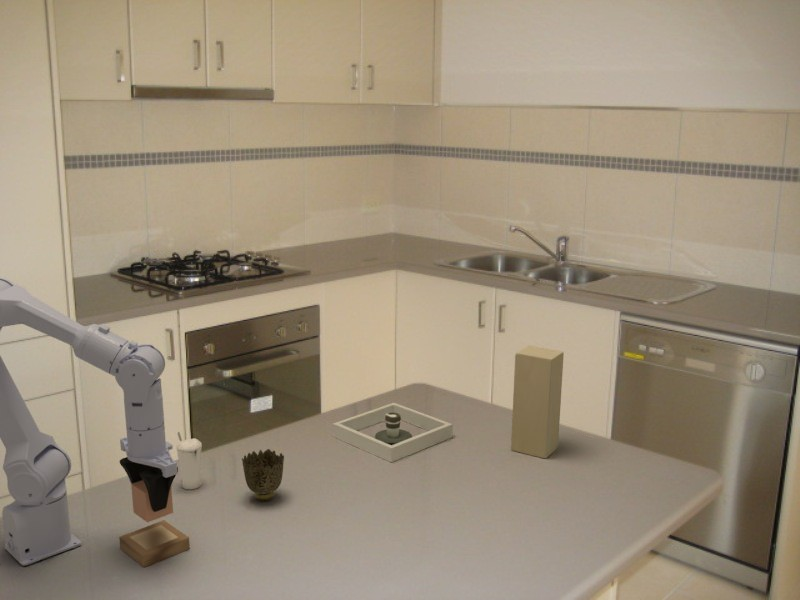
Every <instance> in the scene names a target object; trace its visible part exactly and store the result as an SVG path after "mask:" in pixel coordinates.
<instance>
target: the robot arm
mask: <svg viewBox="0 0 800 600" xmlns="http://www.w3.org/2000/svg"><path fill="white" fill-rule="evenodd" d="M17 325H25V326H27V327H29V328H31V329H33V330H35V331H37V332H40V333H43V334H44V335H46V336H49V337H51V338H54V339H56V340H58V341H61V342H63V343H65V344H67V345H70V346H71V347H72V350H73V353H74V355H75V357H76V358H77V359H80V360H82V361H83V362H86V363H88V364H90V365H92V366H93V367H96V368H98V369H99V370H101V371H103V372H105V373H107V374H108V375H111V376H113V377H114V378H115V381H116V383H117V385H118V386H119V387H120V388H121V389H122V390H123V391H122V392H123V404H124V414H125V415H124V416H125V417H124V418H125V429H126V436H125V437H121V438H120V439H119V443H120V451H122V452H125V454H126V457H122V458H121V459H119V464H120V465H121V467H122V469H123V470H124V471H125V473H126V475H127V477H128V479H129V482H130V485H131V484H132V483H135V482H138V481H141V480H143V481H144V483H145V485H146V488H147V491H148V495H149V500H150V505H151V508H152V510H153V511H154V512H157V511H159V510H162V509H165V508H166V506H167V502H168V496H169V492H170V488H171V489H172V484H173V483H174V479H175V477H176V475H177V474H178V473H179V467H178V462H176V461H175V460H174V459H173V457H172V455H171V452H170V451H171V450H173V447H174V446H173V444H172V443H170V442H168V441H166V429H165V428H166V427H165V416H164V415H165V413H164V401H163V400H164V399H163V398H164V397H163V389H162V379H161V378H160V377H161V376H162V374H163V372H164V371H165V368H166V360H165V359H166V358H165V356H164V355H163V353H162V352H161V351H160V350H159V349H158V348H156V347H155V346H154V345H153V344H151V343H142V344H138V342H137V341H135V340H131V341H130V340H128V339H127V338H124V337H122V336H120V335H118V334H116V333H115V332H112V331H110V329H111V327H110V326H109V325H107V324H105V323H103V324H101V325H98V324H96V323H92V324H90V325H85V326H84V325H82V324H80V323H79V322H78V321H76V320H74V319H72V318H71V317H68V316H67V315H66V314H64V313H62V312H60V310H57V309H56V308H54V307H52V306H50V305H48V304H47V303H46V302H43V301H41V299H38V298H37V297H35V296H33V295H32V294H31V293H30V292H29V291H28V290H27V289H26V288H25V287H24V286H21V285H19V284H15V283H14V282H12V281H11V280H10V279H7V278H5V277H4V278H3V277H0V332H1V330H2V328H3V327H8V326H9V327H11V326H17ZM30 411H31V410H29V407H28V406H27V404H26V402H25V400H24V398H23V397H22V394H21V393H20V391H19V389H18V387H17V384H16V383H15V381H14V379H13V377H12V375H11V373H10V372H9V370H8V367H7V366H6V364H5V362H4V360H3V358H2V356H1V355H0V440H1V443H2V444H3V446H4V447H5V455H4V460H3V465H2V470H3V471H4V473H5V475H6V480H7V483H6V484H7V490H8V492H9V494H10V496H11V498H13V499H14V501H13V502H11V503H9V504H7V505H5V506H3V508H2V513H1V515H2V525H3V533H4V539H5V540H4V541H5V545H4V549H5V550H6V551H7V552H8V553H9V554H10V555H11V556H12V557H13V558H14V559H15V560H16V561H17V562H18V563H19V564H20V565H21V566H23V567H25V566H28V565H31V564H34V563H36V562H39V561H41V560H44V559H47V558H49V557H51V556H52V557H53V556H55V555H58V554H60V553H63V552H66V551H68V550H71V549H73V548H76V547H79V546H81V545H82V541H81V540H80V539H79V538H77V537H76V536H75V535H74V534H73V533H72V532H71V523H70V512H69V502H68V501H69V500H68V492H67V486H66V478H67V476H69V474H70V472H71V469H72V460H71V458H70V456H69V454H68V453H67V451H65V449H63V448H62V447H60V446H59V445H58V443H57V442H56V441H55V439H54V437H53V436H51V435H49V434H47V433H44V432H42V431H41V430H40V429H39V426H38V425H37V423H36V421H35V419H34V418H33V415H32V413H31V412H30Z"/></svg>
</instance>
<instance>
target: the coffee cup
mask: <svg viewBox="0 0 800 600" xmlns="http://www.w3.org/2000/svg"><path fill="white" fill-rule="evenodd" d="M401 421H402V420H401V416H400V414H398V413H386V415H385V427H386V429H383V430H379V431H377V433H376V434H375V439H377V440H380V441H382V442H384V443H387V444H397V443H399V442H402V441H404V440H407V439H409V438H412V434H411V432H409V431H407V430H404V429H401V428H400V425H401Z"/></svg>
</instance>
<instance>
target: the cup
mask: <svg viewBox="0 0 800 600" xmlns="http://www.w3.org/2000/svg"><path fill="white" fill-rule="evenodd" d="M284 460H285V455H283V453H282V452H280V454H276V451H275V450H273V451H272V450H271V449H269V448H267V449H266V450H264V452H263V451H262V449H259V451H258V453H256V451H254V450H253V451H252V452H248V453H247V455H246V454H244V456H243V458H241V462H242V467H243V473H244V479H245V483H246V485H247V487H248V488H249V490H250V491H251V492H253V493H254V494H253V495H254V498H255V499H256V500H257V501H259V502H269V501H272V499H274V497H275V495H276V492H275V491H277V489H279V487H280V486H281V483H282V479H283V473H284V462H285V461H284Z"/></svg>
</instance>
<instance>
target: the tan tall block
mask: <svg viewBox="0 0 800 600" xmlns="http://www.w3.org/2000/svg"><path fill="white" fill-rule="evenodd" d="M563 369H564V351H561V350H556V349H549V348H544V347H539V346H534V345H527V346H525V347H523V348H522V349H520V350H518V351H517V352H515V356H514V376H513V397H512V418H511V420H512V421H511V437H510V438H511V439H510V440H511V441H510V442H511V443H510V449H511V451H513V452H517V453H520V454H524V455H529V456H534V457H538V458H541V459H547V458H549V456H550V455H551V454H553V453H554V452H555V451H556V450H557V449H558V448H559V439H560V438H559V435H560V422H561V419H560V418H561V405H562V404H561V403H562V387H563V386H562V385H563V371H564V370H563Z"/></svg>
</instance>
